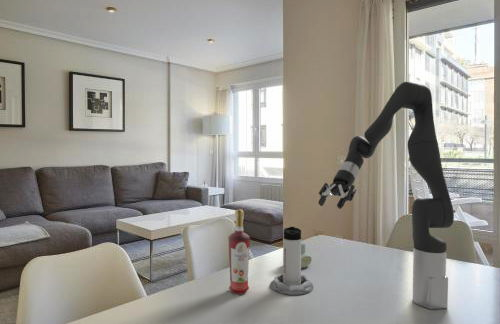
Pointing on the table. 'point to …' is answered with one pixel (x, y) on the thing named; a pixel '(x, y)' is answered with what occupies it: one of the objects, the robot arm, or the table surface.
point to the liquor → (239, 256)
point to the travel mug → (292, 256)
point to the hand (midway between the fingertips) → (329, 206)
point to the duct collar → (292, 286)
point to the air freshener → (304, 256)
